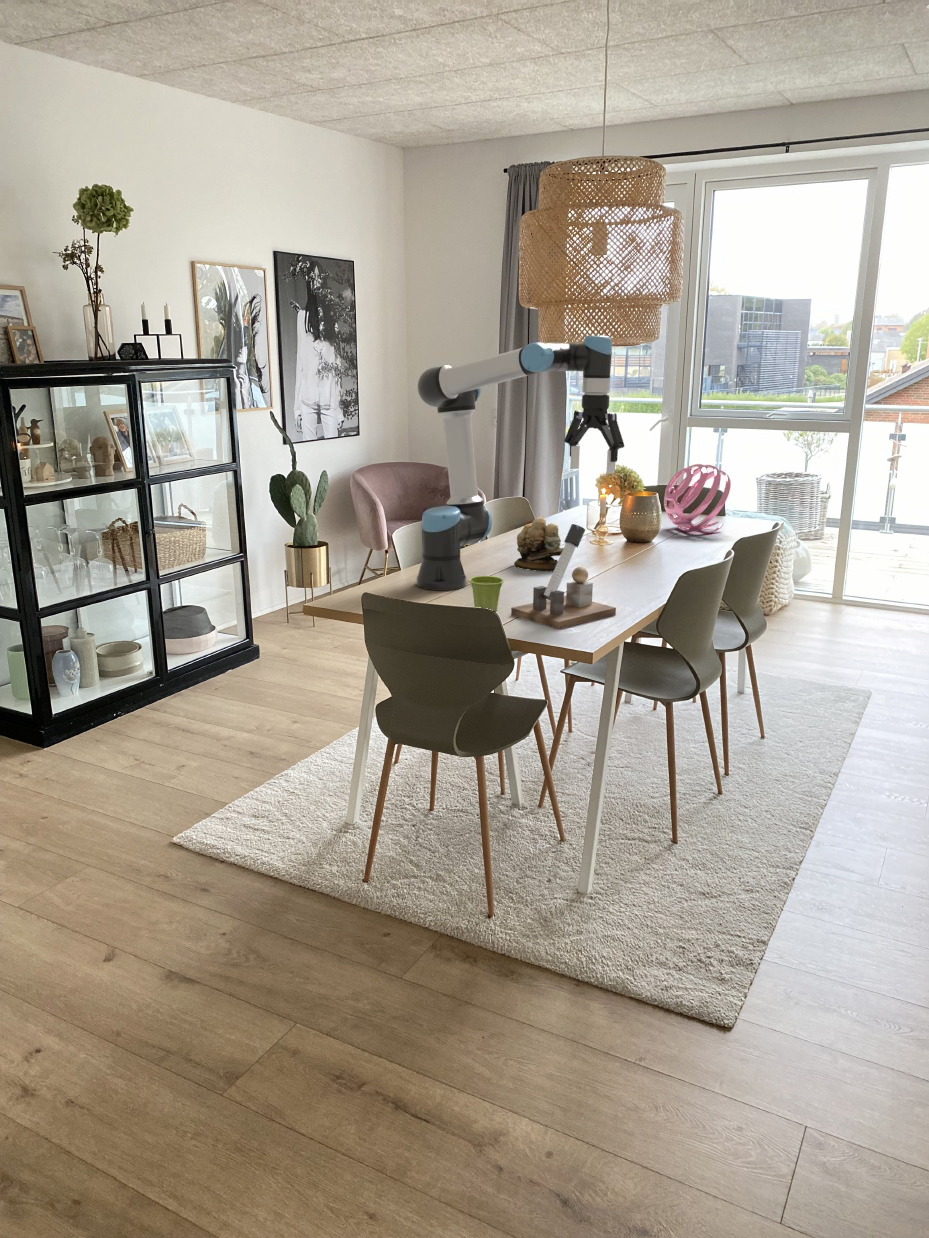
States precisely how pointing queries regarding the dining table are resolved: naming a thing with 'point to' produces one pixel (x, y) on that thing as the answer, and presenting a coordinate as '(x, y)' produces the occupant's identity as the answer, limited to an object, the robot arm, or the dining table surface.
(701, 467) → the spiral basket
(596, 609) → the base
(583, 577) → the wooden ball
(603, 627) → the dining table surface
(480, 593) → the plant pot
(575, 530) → the lever
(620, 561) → the dining table surface
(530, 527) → the brown lumpy mound
